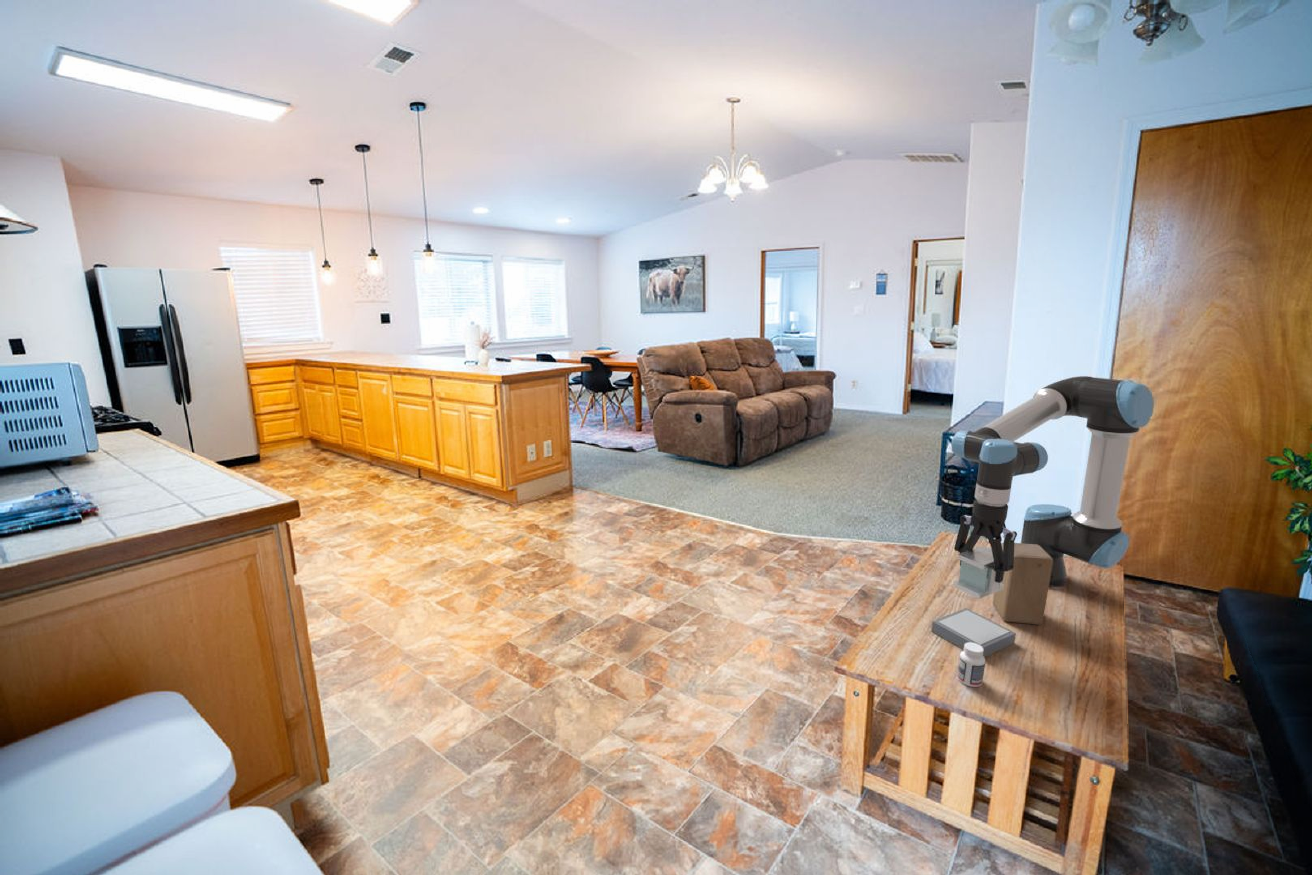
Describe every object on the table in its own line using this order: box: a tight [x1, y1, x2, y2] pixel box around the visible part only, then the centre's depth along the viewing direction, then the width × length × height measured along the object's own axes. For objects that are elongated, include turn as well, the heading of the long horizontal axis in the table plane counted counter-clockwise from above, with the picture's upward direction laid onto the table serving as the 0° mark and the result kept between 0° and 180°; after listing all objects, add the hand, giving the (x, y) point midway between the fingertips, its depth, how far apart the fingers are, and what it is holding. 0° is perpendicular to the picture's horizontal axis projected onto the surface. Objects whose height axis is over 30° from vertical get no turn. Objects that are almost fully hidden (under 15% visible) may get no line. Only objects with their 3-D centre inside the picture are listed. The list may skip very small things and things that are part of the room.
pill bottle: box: [957, 642, 986, 688], centre depth 138 cm, size 5×5×9 cm
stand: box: [930, 607, 1017, 658], centre depth 156 cm, size 14×14×3 cm
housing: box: [953, 545, 1004, 600], centre depth 152 cm, size 7×10×9 cm
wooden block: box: [992, 541, 1053, 625], centre depth 164 cm, size 10×10×20 cm
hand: (978, 585), depth 153 cm, fingers closed on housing, 7 cm apart
